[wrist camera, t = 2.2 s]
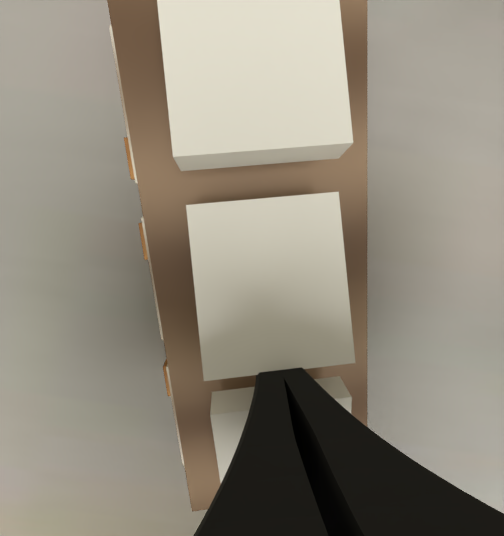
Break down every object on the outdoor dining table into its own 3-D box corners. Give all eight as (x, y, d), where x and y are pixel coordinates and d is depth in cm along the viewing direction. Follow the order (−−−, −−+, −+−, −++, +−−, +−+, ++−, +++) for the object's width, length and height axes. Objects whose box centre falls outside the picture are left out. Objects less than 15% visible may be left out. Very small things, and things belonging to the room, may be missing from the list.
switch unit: (342, 435, 16) (380, 513, 12) (191, 455, 16) (177, 544, 11) (332, -6, 12) (388, -123, 7) (119, 5, 11) (54, -115, 7)
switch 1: (338, 158, 8) (353, 142, 7) (181, 171, 8) (172, 156, 7) (321, -20, 8) (333, -61, 7) (162, -13, 8) (151, -55, 7)
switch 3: (338, 482, 11) (348, 510, 10) (227, 498, 11) (227, 528, 10) (339, 376, 10) (351, 397, 9) (211, 391, 10) (210, 415, 9)
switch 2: (342, 352, 9) (355, 362, 8) (207, 368, 9) (203, 381, 8) (327, 200, 9) (338, 191, 8) (191, 211, 9) (185, 205, 8)
